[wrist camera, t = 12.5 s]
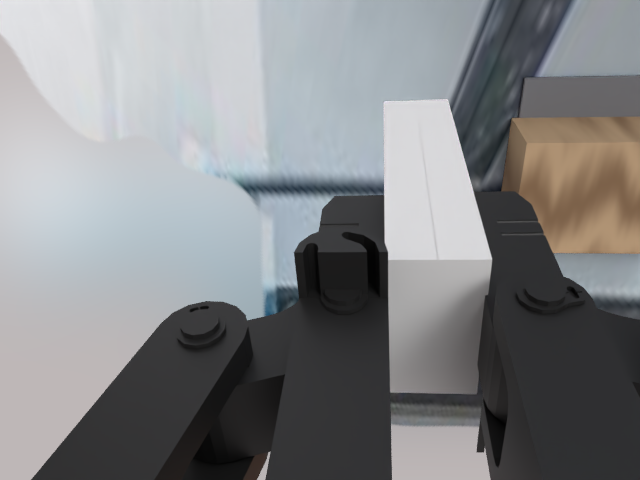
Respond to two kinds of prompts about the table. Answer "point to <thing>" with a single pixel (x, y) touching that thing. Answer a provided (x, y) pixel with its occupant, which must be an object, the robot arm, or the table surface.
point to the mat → (580, 97)
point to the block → (579, 180)
